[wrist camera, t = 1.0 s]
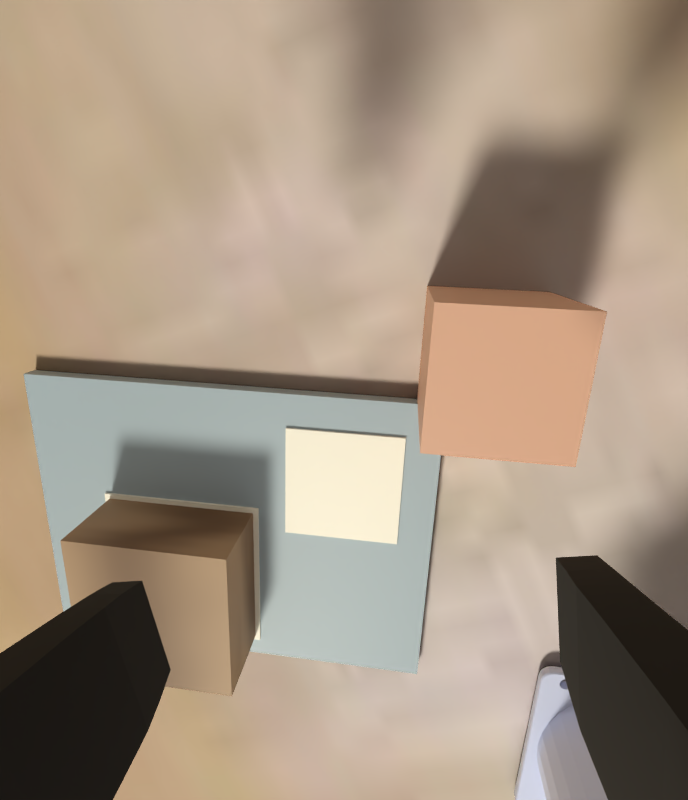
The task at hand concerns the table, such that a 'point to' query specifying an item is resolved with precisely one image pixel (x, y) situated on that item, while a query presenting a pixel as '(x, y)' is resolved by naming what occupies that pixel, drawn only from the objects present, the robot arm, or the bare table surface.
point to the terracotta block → (506, 374)
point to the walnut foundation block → (176, 581)
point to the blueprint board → (262, 496)
